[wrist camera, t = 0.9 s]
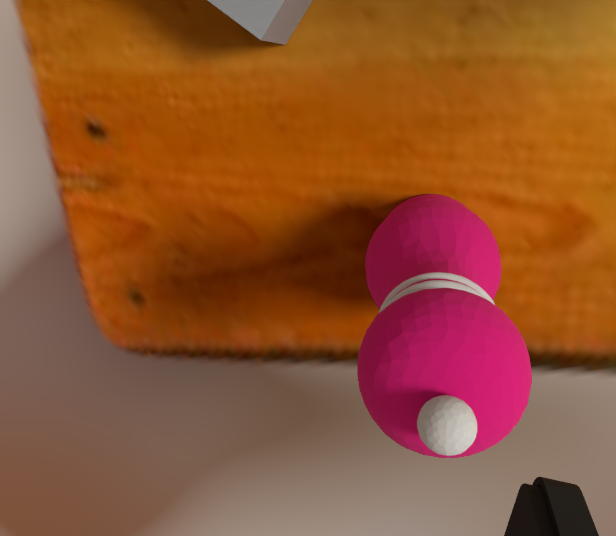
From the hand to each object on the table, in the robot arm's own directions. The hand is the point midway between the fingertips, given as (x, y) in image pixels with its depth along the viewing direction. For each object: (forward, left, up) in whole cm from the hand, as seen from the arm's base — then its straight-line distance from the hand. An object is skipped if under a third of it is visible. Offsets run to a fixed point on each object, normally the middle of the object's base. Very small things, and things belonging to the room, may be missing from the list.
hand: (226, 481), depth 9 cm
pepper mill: (+1, +6, -27) cm, 28 cm away
